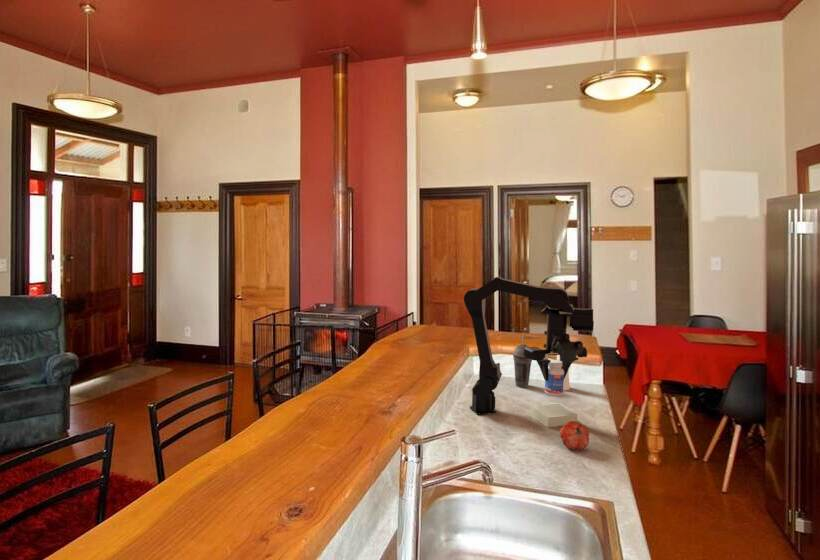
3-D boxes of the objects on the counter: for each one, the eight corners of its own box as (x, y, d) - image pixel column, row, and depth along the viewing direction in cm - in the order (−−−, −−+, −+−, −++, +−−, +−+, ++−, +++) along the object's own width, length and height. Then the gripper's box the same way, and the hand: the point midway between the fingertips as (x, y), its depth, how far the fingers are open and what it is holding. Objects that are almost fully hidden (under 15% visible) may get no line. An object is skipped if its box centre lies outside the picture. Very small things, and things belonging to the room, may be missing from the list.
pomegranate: (556, 451, 134) (561, 442, 126) (558, 424, 138) (564, 414, 130) (584, 456, 133) (592, 448, 124) (585, 430, 136) (593, 419, 128)
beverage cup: (512, 388, 181) (514, 334, 179) (511, 382, 188) (513, 330, 186) (532, 389, 179) (534, 335, 177) (531, 383, 186) (533, 331, 184)
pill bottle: (553, 396, 146) (554, 364, 145) (540, 391, 151) (542, 360, 150) (567, 394, 149) (568, 362, 148) (554, 388, 154) (555, 358, 153)
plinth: (547, 427, 145) (547, 417, 145) (530, 414, 154) (530, 405, 154) (576, 423, 148) (577, 414, 147) (558, 412, 157) (558, 402, 157)
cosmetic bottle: (549, 385, 184) (552, 328, 181) (564, 384, 185) (566, 327, 183) (558, 391, 178) (561, 331, 176) (573, 390, 179) (576, 330, 177)
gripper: (543, 336, 138) (541, 390, 139) (600, 333, 143) (597, 385, 145) (523, 328, 148) (521, 378, 150) (577, 326, 154) (574, 374, 155)
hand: (554, 379), depth 150 cm, fingers closed on pill bottle, 5 cm apart
